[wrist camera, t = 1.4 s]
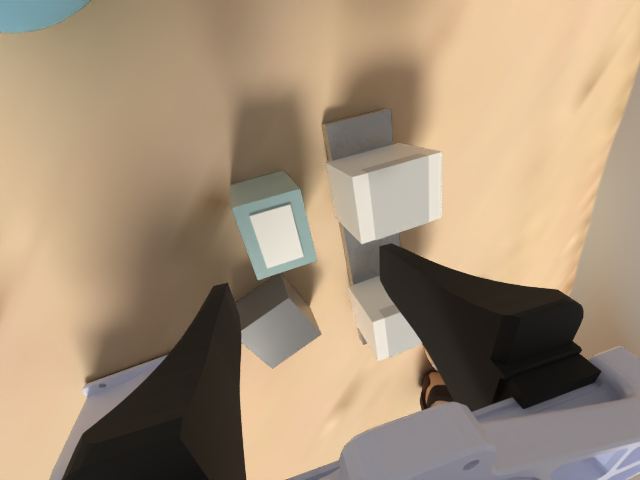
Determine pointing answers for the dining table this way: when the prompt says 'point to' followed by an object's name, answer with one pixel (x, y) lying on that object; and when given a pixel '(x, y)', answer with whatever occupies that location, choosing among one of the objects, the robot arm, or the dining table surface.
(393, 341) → the mounted module
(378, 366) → the dining table surface
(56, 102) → the dining table surface
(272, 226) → the block
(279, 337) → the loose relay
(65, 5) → the decorative pot
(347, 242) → the rail
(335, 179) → the block
